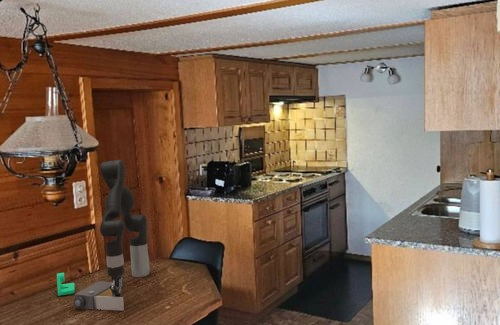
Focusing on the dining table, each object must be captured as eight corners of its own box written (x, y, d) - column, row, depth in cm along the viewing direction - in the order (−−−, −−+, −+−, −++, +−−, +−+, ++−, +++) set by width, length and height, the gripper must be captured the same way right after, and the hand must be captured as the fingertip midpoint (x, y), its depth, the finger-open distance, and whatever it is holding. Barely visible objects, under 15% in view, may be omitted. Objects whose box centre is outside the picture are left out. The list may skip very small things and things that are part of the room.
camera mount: (74, 295, 244) (73, 275, 243) (58, 297, 242) (56, 277, 241) (74, 287, 256) (73, 268, 255) (59, 289, 253) (57, 270, 252)
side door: (124, 309, 223) (123, 296, 222) (122, 311, 220) (121, 298, 220) (95, 308, 225) (94, 295, 225) (93, 310, 223) (92, 297, 223)
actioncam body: (100, 293, 244) (99, 279, 244) (118, 295, 241) (117, 281, 240) (71, 310, 225) (70, 294, 225) (90, 312, 222) (88, 296, 221)
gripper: (112, 259, 229) (115, 294, 232) (101, 269, 216) (105, 306, 219) (128, 258, 229) (131, 294, 231) (118, 268, 216) (121, 306, 218)
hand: (118, 300), depth 225 cm, fingers closed
